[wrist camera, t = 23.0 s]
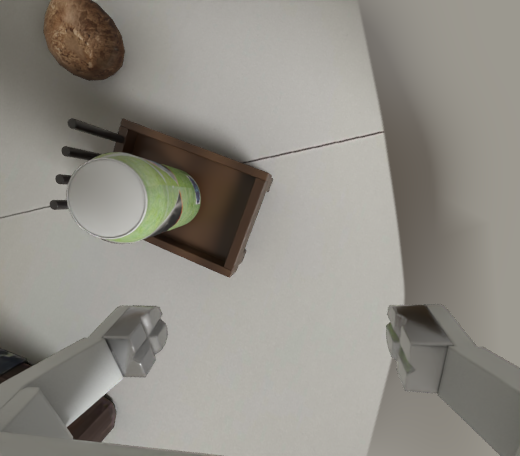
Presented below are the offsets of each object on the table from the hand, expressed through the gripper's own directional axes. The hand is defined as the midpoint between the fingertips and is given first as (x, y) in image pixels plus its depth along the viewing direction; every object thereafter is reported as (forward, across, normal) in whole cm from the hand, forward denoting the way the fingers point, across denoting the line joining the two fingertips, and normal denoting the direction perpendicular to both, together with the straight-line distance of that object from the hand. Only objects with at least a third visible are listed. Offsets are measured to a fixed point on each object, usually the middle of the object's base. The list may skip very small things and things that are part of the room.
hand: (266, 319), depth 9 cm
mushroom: (+27, +21, -16) cm, 38 cm away
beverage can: (+18, +11, 0) cm, 21 cm away
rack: (+21, +11, +1) cm, 24 cm away
